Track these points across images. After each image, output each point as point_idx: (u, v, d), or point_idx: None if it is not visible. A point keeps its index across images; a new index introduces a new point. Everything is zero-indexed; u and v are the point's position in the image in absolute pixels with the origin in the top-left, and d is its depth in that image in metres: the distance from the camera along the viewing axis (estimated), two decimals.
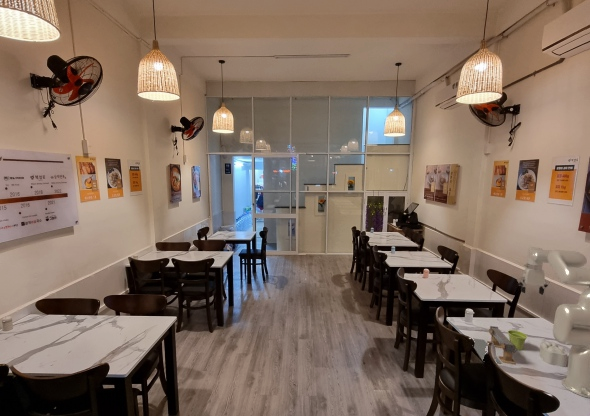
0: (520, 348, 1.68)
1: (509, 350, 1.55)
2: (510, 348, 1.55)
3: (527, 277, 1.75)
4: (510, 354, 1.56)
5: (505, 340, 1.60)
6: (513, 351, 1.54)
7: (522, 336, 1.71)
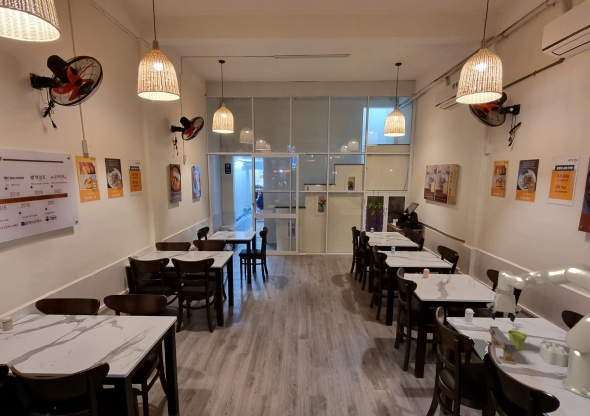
0: (520, 348, 1.68)
1: (509, 350, 1.55)
2: (510, 348, 1.55)
3: (497, 303, 1.62)
4: (510, 354, 1.56)
5: (505, 340, 1.60)
6: (513, 351, 1.54)
7: (522, 336, 1.71)
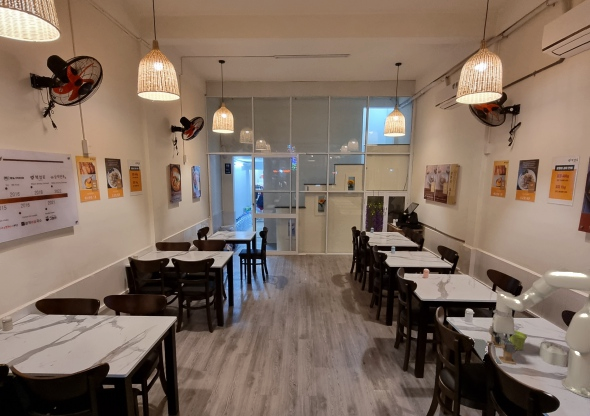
0: (520, 348, 1.68)
1: (509, 350, 1.55)
2: (510, 348, 1.55)
3: (496, 324, 1.63)
4: (510, 354, 1.56)
5: (505, 340, 1.60)
6: (513, 351, 1.54)
7: (522, 336, 1.71)
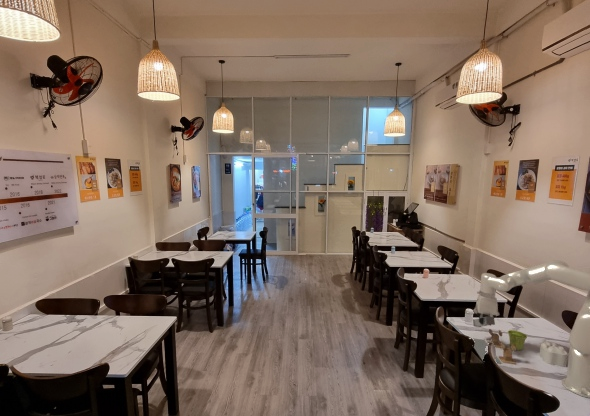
0: (520, 348, 1.68)
1: (489, 322, 1.60)
2: (490, 319, 1.60)
3: (479, 305, 1.64)
4: (510, 354, 1.56)
5: None
6: (493, 323, 1.59)
7: (522, 336, 1.71)
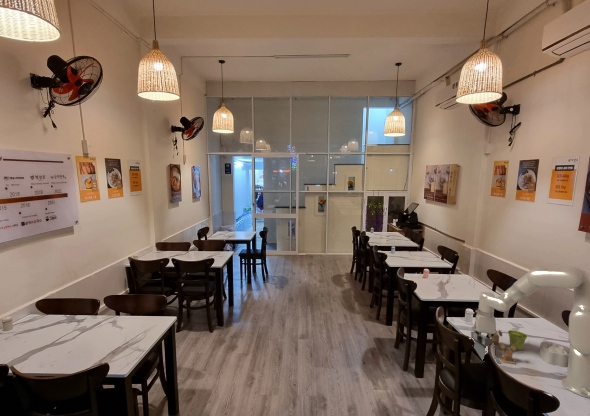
0: (520, 348, 1.68)
1: (488, 344, 1.60)
2: (488, 342, 1.60)
3: (478, 324, 1.65)
4: (510, 354, 1.56)
5: (483, 337, 1.66)
6: None
7: (522, 336, 1.71)
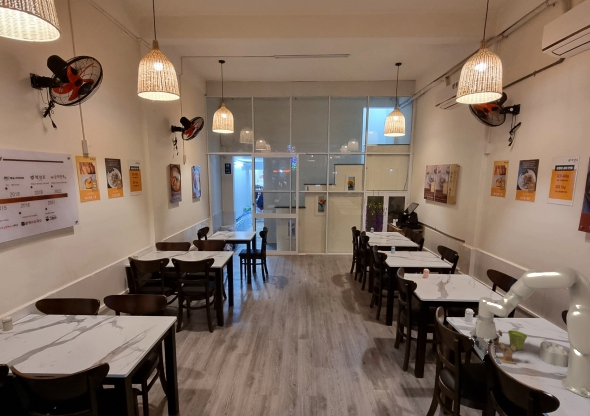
0: (520, 348, 1.68)
1: None
2: None
3: (478, 329, 1.65)
4: (510, 354, 1.56)
5: (484, 345, 1.65)
6: None
7: (522, 336, 1.71)
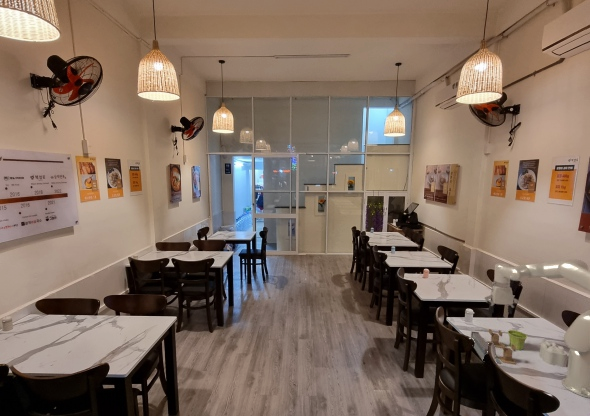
0: (520, 348, 1.68)
1: None
2: None
3: (495, 296, 1.64)
4: (510, 354, 1.56)
5: (484, 345, 1.65)
6: None
7: (522, 336, 1.71)
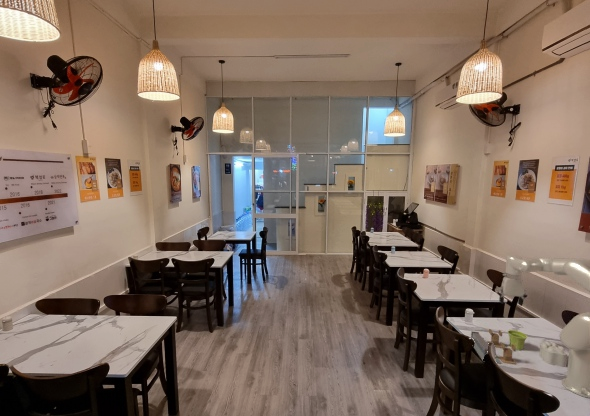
0: (520, 348, 1.68)
1: None
2: None
3: (505, 287, 1.65)
4: (510, 354, 1.56)
5: (484, 345, 1.65)
6: None
7: (522, 336, 1.71)
